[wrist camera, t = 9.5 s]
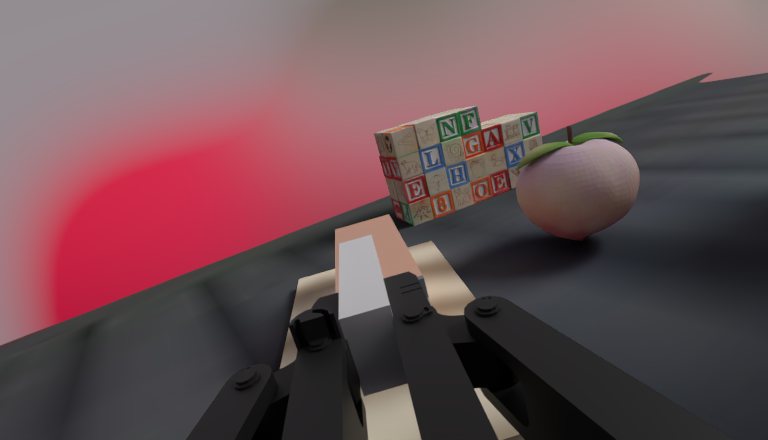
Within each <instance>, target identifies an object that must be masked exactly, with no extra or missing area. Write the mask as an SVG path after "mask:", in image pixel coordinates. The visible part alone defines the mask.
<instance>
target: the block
mask: <svg viewBox="0 0 768 440" xmlns="http://www.w3.org/2000/svg"><path fill="white" fill-rule="evenodd" d="M368 235H372V238H373V242H374V245H375V249H376V252H377V256H378V259H379V263H380V267H381V270H382V274H383V277H384V278H387V277H390V276H394V275H397V274H401V273H405V272H408V271H409V272H411V273H413V274H415V275H416V276H417V278H418V280H419V282H420V284H421V286H422V288H423V291H424V293H425V295H426V297H427V299H428V301H429V303H430V300H429V296H428V292H427V288H426V284H425V280H424V277H423V275H422V274H421V272H420V270H419V268H418V266H417V264H416V263H415V261H414V259H413V257H412V255H411V253H410V252H409V250H408V248H407V246H406V244H405V242H404V241H403V239H402V237H401V235H400V233H399V232H398V230H397V228H396V226H395V224H394V222H393V221H392V219H391V217H390V215H389V214H388V215H385V216H381V217H378V218H374V219H370V220H367V221H363V222H360V223H356V224H353V225H349V226H346V227H342V228H339V229H335V293H338V292H339V243H343V242H347V241H350V240H354V239H357V238H361V237H364V236H368ZM430 305H431V304H430Z"/></svg>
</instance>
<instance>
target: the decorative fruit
mask: <svg viewBox="0 0 768 440" xmlns="http://www.w3.org/2000/svg"><path fill="white" fill-rule="evenodd" d="M567 133H568V141H566V142H555V143H548V144H544V145H541V146H538V147H536V148H534V149H532V150H531V151H530V152H528V153H527V154H526V155H525V156H524V157H523V158H522V160H521V161H520V163H519V164H518V166H517V168H516V170H518V169H520V168H522V167H523V168H522V169H521V171H520V173H519V176H518V179H517V184H516V194H517V199H518V202H519V205H520V207H521V209H522V210H523V212H524V213H525V214H526V216H527V217H528V218H529V219H530V220H531V221H532V222H533V223H534V224H535V225H537V226H538V227H540V228H541V229H543V230H545V231H546V232H548V233H550V234H553V235H555V236H558V237H562V238H566V239H571V240H580V241H582V240H583V239H584V238H585V237H587V236H589V235H591V234H593V233H596V232H598V231H601V230H603V229H605V228H607V227H609V226H611V225H612V224H614V223H616V222H617V221H619V220H620V219H621V218H623V217H624V216H625V215H626V214H627V213H628V212H629V210H630V209H631V207H632V206H633V204H634V201H635V199H636V196H637V193H638V189H639V182H640V181H639V169H638V166H637V163H636V162H635V160H634V158H633V157H632V155H631V154H630V153H629V152H628V151H627V150H625V149H624V148H623V147H621V146H619V145H618V144H615V143H613V142H610V141H608V140H612V141H615V142H618V143H623V141H622V140H621V138H619V137H618V136H616V135H614V134H612V133H607V132H590V133H584V134H581V135H578V136H576V137H574V138H573V139H572V128H571V126H567ZM602 138H603V139H602ZM605 139H608V140H605Z"/></svg>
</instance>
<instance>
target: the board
mask: <svg viewBox="0 0 768 440" xmlns="http://www.w3.org/2000/svg"><path fill="white" fill-rule="evenodd" d="M408 250H409V252H410V253H411V255H412V257H413V259H414V261H415V263H416V264H417V266H418V268H419V270H420V272H421V274H422V275H423V277H424V280H425V284H426V288H427V292H428V296H429V300H430V304H431V306H433V307H434V308H435V309H436V311H437V313H439V314H442V315H448V316H455V315H464V308H465V307H466V306H467V304H468V303H470V302H471V301H473V300H475V299H476V298H475V297H474V296H473V294H472V293H471V292H470V290H469V289H468V288H467V287H466V285H465V284H464V283H463V281H462V280H461V279H460V277H459V276H458V275H457V274H456V272H455V271H454V270H453V268H452V267H451V266H450V264H449V263H448V262H447V260H446V259H445V258H444V257H443V255H442V254H441V253H440V251H439V250H438V249H437V247H436V246H435V245H434V244H433V242H432V241H429V242H426V243H422V244H419V245H416V246H412V247H409V248H408ZM334 293H335V269H333V270H329V271H326V272H322V273H319V274H315V275H312V276H308V277H305V278H301V279H299V282H298V287H297V291H296V296H295V301H294V305H293V310H292V315H291V319H290V322H291V320H293V319H294V318H295V317H296V316H297V315H299V314H300V313H302V312H304V311H306V310H309V309H311V308H312V306H313V305H314V303H315V302H316V301H317V299H318V298H320V297H324V296H327V295H331V294H334ZM296 355H297V348H296V345H295V343H294V340H293V337H292V335H291V332H290V329H289V328H288V333H287V338H286V342H285V347H284V352H283V356H282V361H281V365H280V369H281V368H283V367H285V366H287V365H289V364H290V363H292V362H293V361H295V360H296ZM360 389H361V386H360ZM474 390H475V392H476V394H477V396H478V398H479V400H480V402H481V404H482V406H483V408H484V410H485V412H486V415H487V417H488V419H489V421H490V423H491V425H492V427H493V429H494V431H495V433H496V435H497V437H498V439H499V440H525V439H524V438H523V437H522V436H521V435H520V434H519V433H518V432H517V431H516V430H515V429H514V427H513V426H512V425H511V424H510V423H509V422H508V421H507V420H506V419H505V418H504V417H503V416H502V414H501V413H500V412H499V411H498V410H497V409H496V408H495V407H494V406H493V405H492V404H491V403H490V401H489V400H488V399H487V398H486V397H485V396H484V395H483V393H482V391H481V389H480V388H474ZM361 397H362V400H363V403H364V406H365V409H366V420H367V431H368V440H421V436H420V432H419V428H418V424H417V420H416V416H415V412H414V408H413V404H412V400H411V396H410V391H409V387H408V383H407V384H404V385H401V386H397V387H394V388H391V389H387V390H384V391H380V392H377V393H374V394H370V395H367V396H364V395H363V392H362V389H361Z"/></svg>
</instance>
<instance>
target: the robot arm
mask: <svg viewBox="0 0 768 440" xmlns="http://www.w3.org/2000/svg"><path fill="white" fill-rule="evenodd" d="M288 327H289V329H290V332H291V335H292V337H293V340H294V343H295V345H296V348H297V355H296V360H295V361H293V362H292V363H290V364H289V365H287V366H285V367H283V368H281V369H279V370H277V371H275V372H272V369H271V367H270V366H269V365H267V364H254V365H250V366H247V367H246V368H243V369H241V370H240V371H239V372H237V373H236V374H234V375H233V376H232V377H231V378H230V379H229V380H228V381H227V382H226V384H225V385H224V386H223V388H222V389H221V391H220V392H219V394H218V395H217V396H216V398H215V399H214V401H213V402H212V404H211V405H210V406H209V408H208V409H207V411H206V412H205V413H204V415H203V416H202V418H201V419H200V421H199V422H198V423H197V425H196V426H195V428H194V429H193V431H192V432H191V433H190V435H189V436H188V438H187V439H186V440H368V431H367V420H366V409H365V406H364V403H363V400H362V397H361V389H362V392H363V395H364V396H367V395H370V394H374V393H377V392H380V391H384V390H387V389H391V388H394V387H397V386H401V385H404V384H407V383H408V387H409V391H410V396H411V400H412V404H413V408H414V412H415V416H416V420H417V424H418V428H419V432H420V436H421V440H499V439H498V437H497V435H496V433H495V431H494V429H493V427H492V425H491V423H490V421H489V419H488V417H487V415H486V412H485V410H484V408H483V406H482V404H481V402H480V400H479V398H478V396H477V394H476V392H475V390H474V388H480V389H481V391H482V393H483V395H484V396H485V397H486V398H487V399H488V400H489V401H490V403H491V404H492V405H493V406H494V407H495V408H496V409H497V410H498V411H499V412H500V413H501V414H502V416H503V417H504V418H505V419H506V420H507V421H508V422H509V423H510V424H511V425H512V426H513V427H514V429H515V430H516V431H517V432H518V433H519V434H520V435H521V436H522V437H523V438H524V439H525V440H734V439H732V438H731V437H729V436H727V435H726V434H724V433H723V432H721V431H719V430H718V429H716V428H714V427H713V426H711V425H710V424H708V423H706V422H705V421H703V420H701V419H700V418H698V417H697V416H695V415H693V414H692V413H690V412H688V411H687V410H685V409H684V408H682V407H680V406H679V405H677V404H676V403H674V402H672V401H671V400H669V399H667V398H666V397H664V396H663V395H661V394H659V393H658V392H656V391H654V390H653V389H651V388H650V387H648V386H646V385H645V384H643V383H641V382H640V381H638V380H637V379H635V378H633V377H632V376H630V375H629V374H627V373H625V372H624V371H622V370H620V369H619V368H617V367H616V366H614V365H612V364H611V363H609V362H607V361H606V360H604V359H603V358H601V357H599V356H598V355H596V354H594V353H593V352H591V351H590V350H588V349H586V348H585V347H583V346H582V345H580V344H578V343H577V342H575V341H573V340H572V339H570V338H569V337H567V336H565V335H564V334H562V333H560V332H559V331H557V330H556V329H554V328H552V327H551V326H549V325H547V324H546V323H544V322H543V321H541V320H539V319H538V318H536V317H535V316H533V315H531V314H530V313H528V312H526V311H525V310H523V309H522V308H520V307H518V306H517V305H515V304H513V303H512V302H510V301H509V300H507V299H504V298H502V297H496V296H487V297H486V296H485V297H481V298H478V299H475V300H473V301H471V302H470V303H468V304H467V306H466V307H465V308H464V315H455V316H448V315H442V314H439V313H437V311H436V309H435V308H434V307H433V306H431V305H430V303H429V301H428V299H427V297H426V295H425V293H424V291H423V288H422V286H421V284H420V282H419V280H418V278H417V276H416V275H415V274H413V273H411V272H409V271H408V272H405V273H401V274H397V275H394V276H390V277H387V278H384V277H383V274H382V270H381V267H380V263H379V259H378V256H377V252H376V249H375V245H374V242H373V238H372V235H368V236H364V237H361V238H357V239H354V240H350V241H347V242H343V243H339V292H338V293H334V294H331V295H327V296H324V297H320V298H318V299H317V301H316V302H315V303H314V305H313V306H312V308H311V309H309V310H306V311H304V312H302V313H300V314H299V315H297V316H296V317H295V318H294V319H293V320H291V322H290V324H289V326H288ZM360 386H361V389H360Z"/></svg>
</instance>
